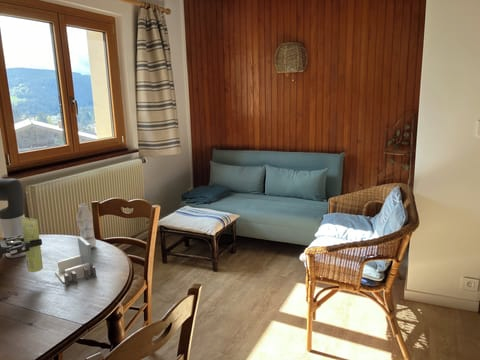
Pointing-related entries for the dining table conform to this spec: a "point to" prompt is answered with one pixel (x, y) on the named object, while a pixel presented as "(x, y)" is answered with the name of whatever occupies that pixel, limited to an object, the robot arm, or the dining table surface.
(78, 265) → the end holder
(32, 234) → the tube
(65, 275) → the clips
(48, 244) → the dining table surface
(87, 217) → the plastic bottle
